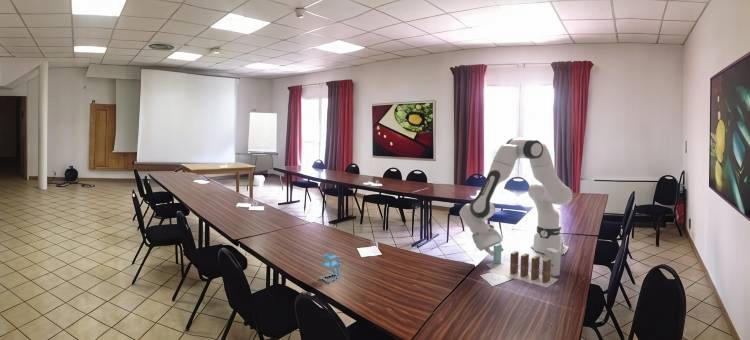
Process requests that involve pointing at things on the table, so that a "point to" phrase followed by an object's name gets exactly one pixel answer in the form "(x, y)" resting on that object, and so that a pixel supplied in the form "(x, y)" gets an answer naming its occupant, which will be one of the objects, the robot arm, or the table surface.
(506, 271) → the row mat
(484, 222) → the robot arm
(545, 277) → the domino
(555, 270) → the skincare box
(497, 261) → the domino
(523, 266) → the domino
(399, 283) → the table surface
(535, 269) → the domino
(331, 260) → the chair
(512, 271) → the domino
